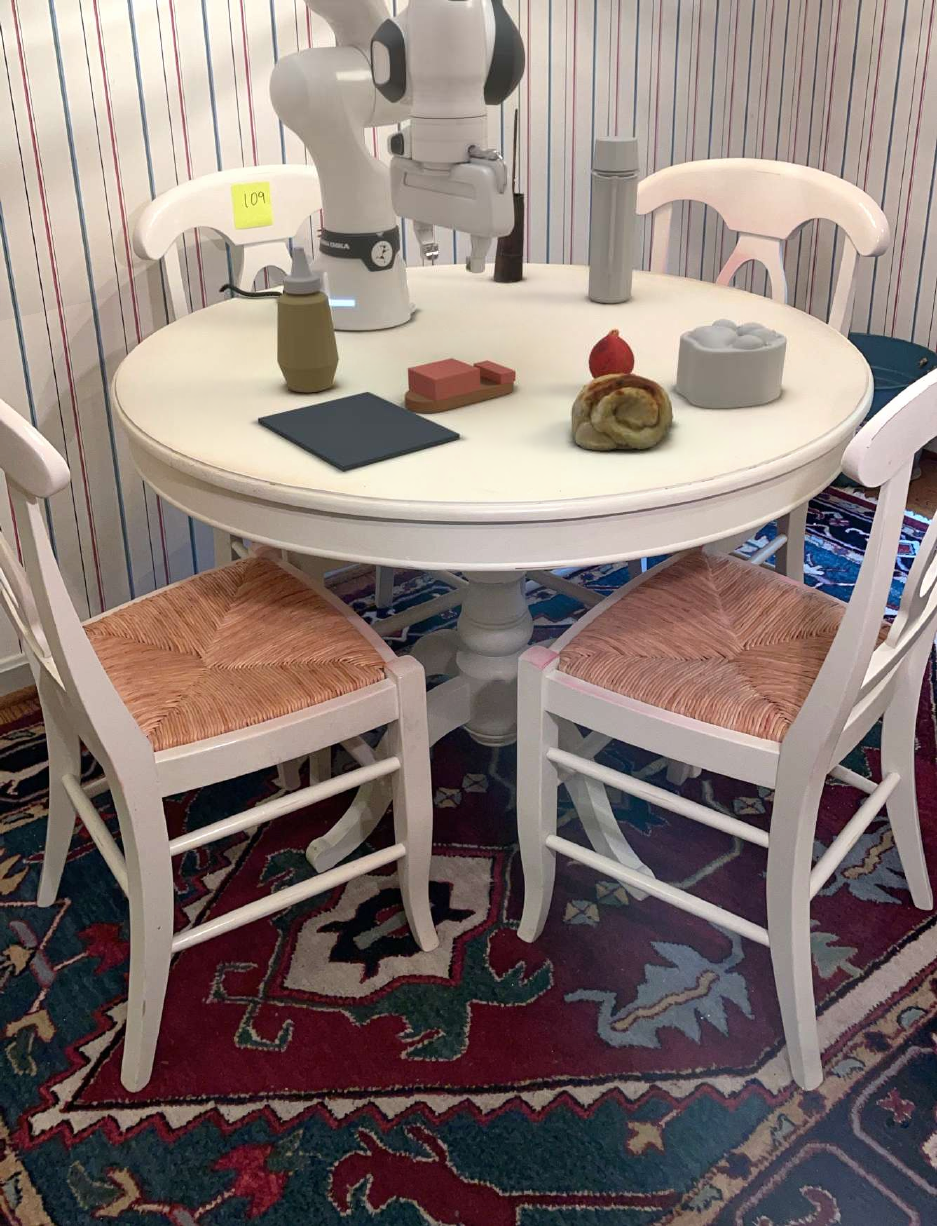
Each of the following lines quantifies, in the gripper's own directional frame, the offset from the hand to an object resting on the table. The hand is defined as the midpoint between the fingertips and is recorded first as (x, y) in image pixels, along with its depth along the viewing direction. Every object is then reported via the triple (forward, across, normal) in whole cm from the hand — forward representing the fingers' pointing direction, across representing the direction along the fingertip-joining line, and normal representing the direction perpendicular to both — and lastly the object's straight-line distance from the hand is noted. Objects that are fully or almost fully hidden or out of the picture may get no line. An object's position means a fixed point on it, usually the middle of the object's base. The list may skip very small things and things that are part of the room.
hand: (451, 265), depth 135 cm
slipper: (+17, 0, -1) cm, 17 cm away
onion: (+17, -10, -18) cm, 27 cm away
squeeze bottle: (+17, +16, +12) cm, 26 cm away
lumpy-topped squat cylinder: (+17, -21, -29) cm, 40 cm away
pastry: (+17, -23, -8) cm, 30 cm away
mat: (+17, -2, +16) cm, 23 cm away
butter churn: (+17, +46, -46) cm, 67 cm away
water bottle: (+17, +24, -50) cm, 58 cm away
